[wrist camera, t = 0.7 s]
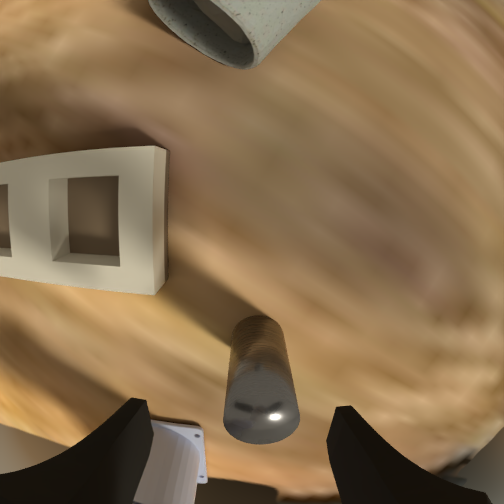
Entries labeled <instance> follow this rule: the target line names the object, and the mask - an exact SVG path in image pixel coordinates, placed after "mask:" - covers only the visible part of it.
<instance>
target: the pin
mask: <svg viewBox="0 0 504 504" xmlns="http://www.w3.org/2000/svg"><path fill="white" fill-rule="evenodd" d="M299 422H300V414H299V409H298V404H297V399H296V394H295V389H294V384H293V379H292V374H291V369H290V364H289V359H288V354H287V349H286V344H285V339H284V334H283V331H282V328H281V327H280V325H279V324H278V323H277V322H276V321H274V320H273V319H271V318H268V317H265V316H252V317H248V318H246V319H244V320H242V321H241V322H240V323H239V324H238V325H237V326H236V327H235V329H234V331H233V334H232V343H231V352H230V361H229V370H228V380H227V389H226V398H225V408H224V417H223V423H224V426H225V428H226V430H227V431H228V433H229V434H230V435H232V436H233V437H234V438H236V439H238V440H240V441H243V442H246V443H250V444H270V443H274V442H278V441H280V440H283V439H285V438H286V437H288V436H290V435H291V434H292V433H293V432H294V431H295V430H296V428H297V427H298V425H299Z"/></svg>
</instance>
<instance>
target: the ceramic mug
mask: <svg viewBox="0 0 504 504" xmlns="http://www.w3.org/2000/svg"><path fill="white" fill-rule="evenodd" d="M320 1H321V0H148V2H149V5H150V6H151V8H152V9H153V11H154V12H155V13H156V15H157V16H158V17H159V18H160V19H161V20H162V22H163V23H164V24H166V25H167V26H168V27H169V28H170V29H171V30H172V31H173V32H174V33H176V34H177V35H178V36H179V37H180V38H181V39H183V40H184V41H185V42H186V43H188V44H190V45H191V46H193V47H195V48H196V49H198V50H199V51H200V52H202V53H203V54H205V55H207V56H209V57H211V58H212V59H214V60H216V61H218V62H221V63H223V64H225V65H227V66H231V67H234V68H238V69H251V68H254V67H256V66H257V65H259V64H260V63H261V62H262V60H263V59H264V58H265V57H266V56H267V55H268V54H269V53H270V51H271V50H272V49H273V48H274V47H275V46H276V45H277V44H278V43H279V42H280V41H281V40H282V39H283V38H284V37H285V36H286V35H287V34H288V33H289V32H290V30H291V29H292V28H293V27H294V26H295V25H296V24H297V23H298V22H299V21H300V20H301V19H302V18H303V17H304V16H305V15H306V14H307V13H308V12H310V11H311V10H312V9H313V8H314V7H315V6H316V5H317V4H318V3H319V2H320Z"/></svg>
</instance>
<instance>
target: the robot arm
mask: <svg viewBox="0 0 504 504" xmlns="http://www.w3.org/2000/svg"><path fill="white" fill-rule="evenodd" d="M197 434H198V435H197ZM326 441H327V448H328V455H329V461H330V464H331V468H332V471H333V475H334V478H335V481H336V484H337V488H338V491H339V494H340V498H341V501H342V504H492V503H491V501H490V499H489V498H488V496H487V495H486V493H484V492H480V491H476V490H472V489H468V488H464V487H461V486H459V485H456V484H453V483H450V482H448V481H446V480H443V479H441V478H439V477H437V476H435V475H433V474H431V473H429V472H427V471H426V470H424V469H422V468H421V467H419V466H418V465H416V464H415V463H413V462H411V461H410V460H408V459H407V458H406V457H404V456H403V455H402V454H401V453H399V452H398V451H397V450H396V449H394V448H393V447H392V446H391V445H390V444H389V443H388V442H386V441H385V440H384V439H383V438H382V437H381V436H380V435H379V434H378V433H377V432H376V431H375V430H374V429H373V428H372V427H371V426H370V425H369V424H368V423H367V422H366V421H365V420H364V419H363V418H362V417H361V415H360V414H359V413H358V412H357V411H356V410H355V409H354V408H353V407H352V406H340V407H336V409H335V413H334V416H333V420H332V423H331V427H330V430H329V433H328V437H327V440H326ZM197 483H207V469H206V458H205V446H204V434H203V429H202V428H201V427H199V426H193V425H185V424H177V423H170V422H163V421H157V420H151V419H150V415H149V411H148V406H147V401H146V400H143V399H137V398H130V399H129V400H128V401H127V402H126V403H125V404H124V405H123V406H122V407H121V408H120V409H118V410H117V411H116V412H115V413H114V414H113V415H112V416H111V417H110V418H109V419H107V420H106V421H105V422H104V423H103V424H102V425H100V426H99V427H98V428H97V429H96V430H94V431H93V432H92V433H91V434H89V435H88V436H87V437H85V438H84V439H83V440H81V441H80V442H78V443H77V444H76V445H74V446H72V447H71V448H69V449H68V450H66V451H64V452H63V453H61V454H59V455H57V456H55V457H53V458H51V459H49V460H46V461H44V462H42V463H40V464H37V465H34V466H31V467H29V468H25V469H22V470H19V471H15V472H10V473H5V474H0V504H194V501H195V494H196V487H197Z"/></svg>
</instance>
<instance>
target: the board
mask: <svg viewBox="0 0 504 504" xmlns="http://www.w3.org/2000/svg"><path fill="white" fill-rule="evenodd" d="M169 158H170V151H169V150H166V149H163V148H160V147H157V146H137V147H119V148H105V149H93V150H83V151H73V152H65V153H57V154H49V155H42V156H35V157H29V158H23V159H17V160H11V161H6V162H1V163H0V276H4V277H10V278H16V279H22V280H29V281H36V282H43V283H50V284H57V285H65V286H73V287H81V288H89V289H98V290H107V291H116V292H126V293H136V294H147V295H155V294H156V293H157V292H158V290H159V289H160V288H161V287H162V285H163V284H164V283H165V282H166V280H167V279H168V180H169Z"/></svg>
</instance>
